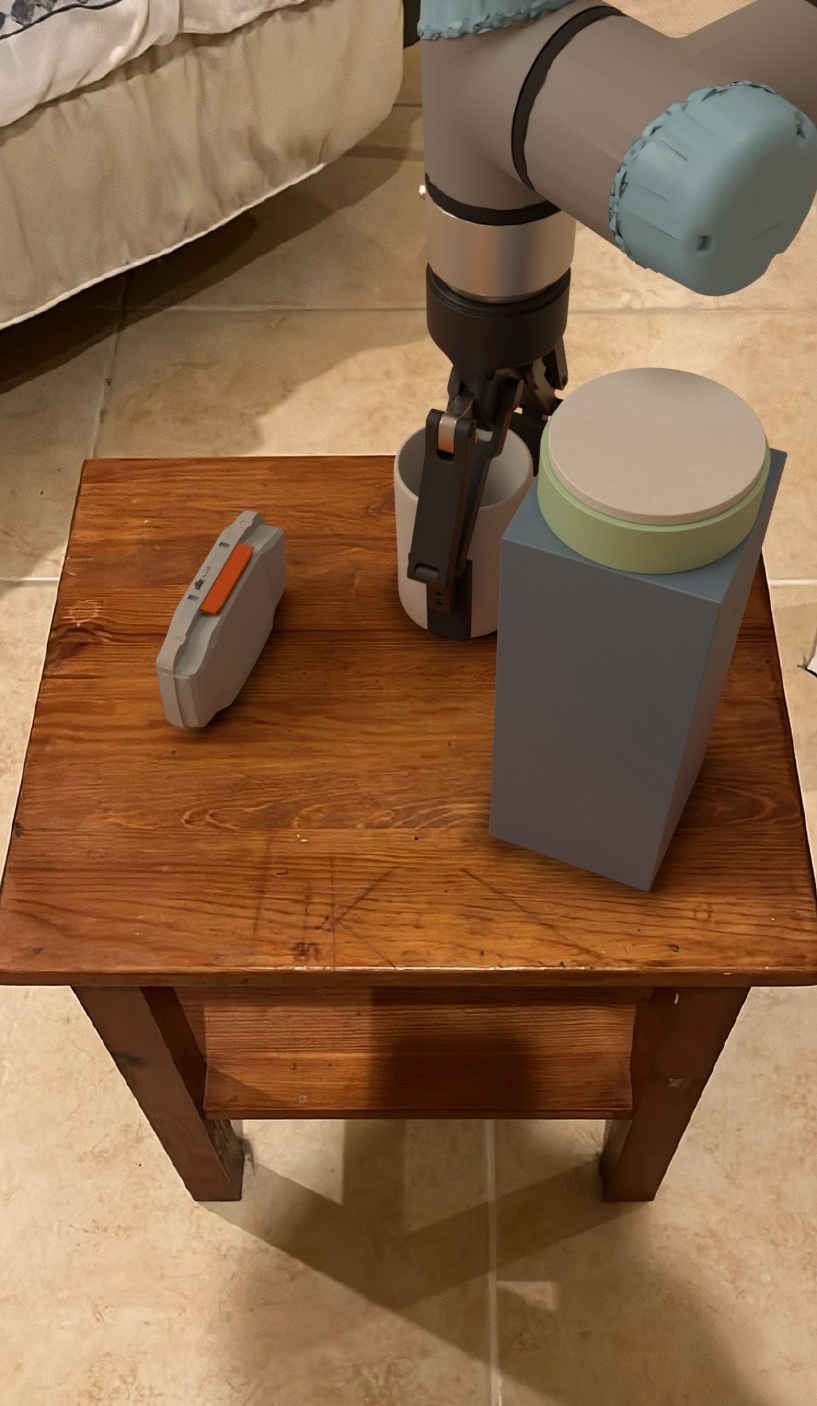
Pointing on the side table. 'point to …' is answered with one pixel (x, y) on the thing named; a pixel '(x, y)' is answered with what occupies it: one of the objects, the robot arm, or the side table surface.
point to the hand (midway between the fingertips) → (488, 564)
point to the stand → (608, 693)
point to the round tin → (652, 470)
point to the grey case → (222, 622)
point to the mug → (495, 514)
